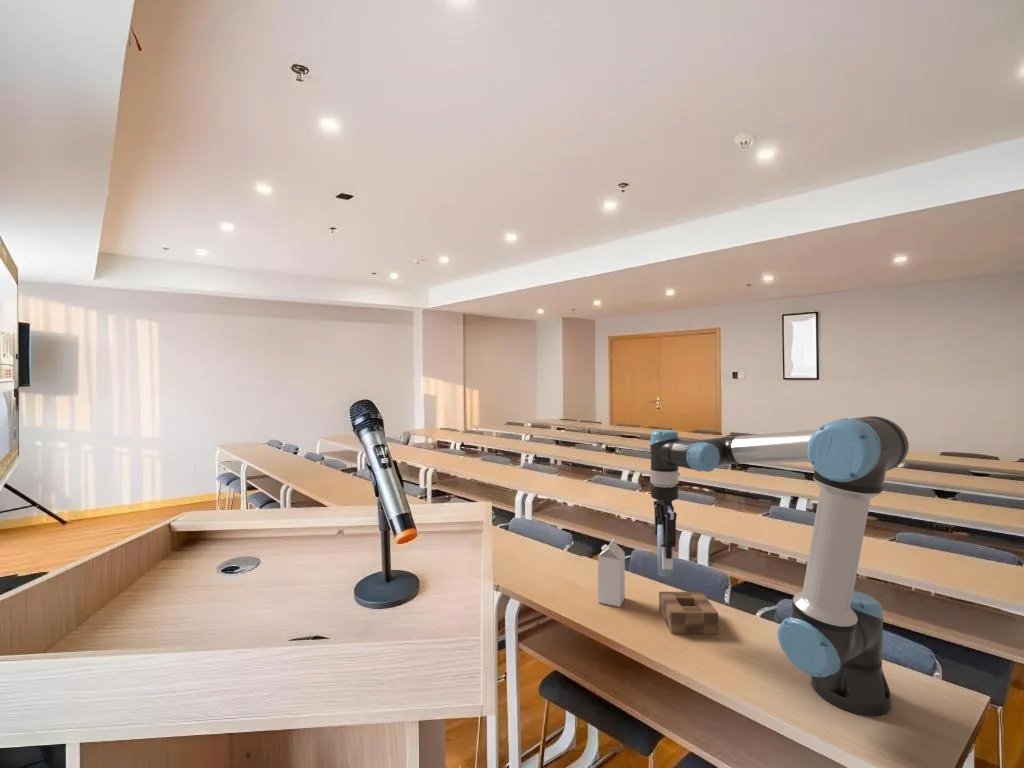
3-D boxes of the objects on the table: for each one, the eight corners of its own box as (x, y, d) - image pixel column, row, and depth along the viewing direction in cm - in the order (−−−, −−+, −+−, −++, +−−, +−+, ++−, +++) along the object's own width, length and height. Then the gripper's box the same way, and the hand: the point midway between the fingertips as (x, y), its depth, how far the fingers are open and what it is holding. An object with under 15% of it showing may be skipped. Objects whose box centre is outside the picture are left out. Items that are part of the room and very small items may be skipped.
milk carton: (624, 597, 160) (624, 540, 160) (620, 607, 154) (620, 547, 153) (603, 593, 163) (603, 537, 163) (597, 603, 157) (597, 544, 156)
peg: (674, 577, 139) (673, 528, 139) (660, 577, 139) (659, 528, 139) (669, 571, 143) (669, 523, 143) (655, 572, 143) (655, 524, 143)
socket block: (718, 634, 138) (718, 613, 138) (671, 633, 138) (671, 612, 138) (701, 611, 151) (702, 592, 151) (659, 610, 151) (659, 591, 151)
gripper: (688, 491, 132) (688, 577, 133) (668, 477, 149) (668, 554, 150) (660, 491, 132) (660, 578, 133) (643, 478, 149) (644, 554, 150)
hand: (665, 565), depth 141 cm, fingers closed on peg, 4 cm apart
